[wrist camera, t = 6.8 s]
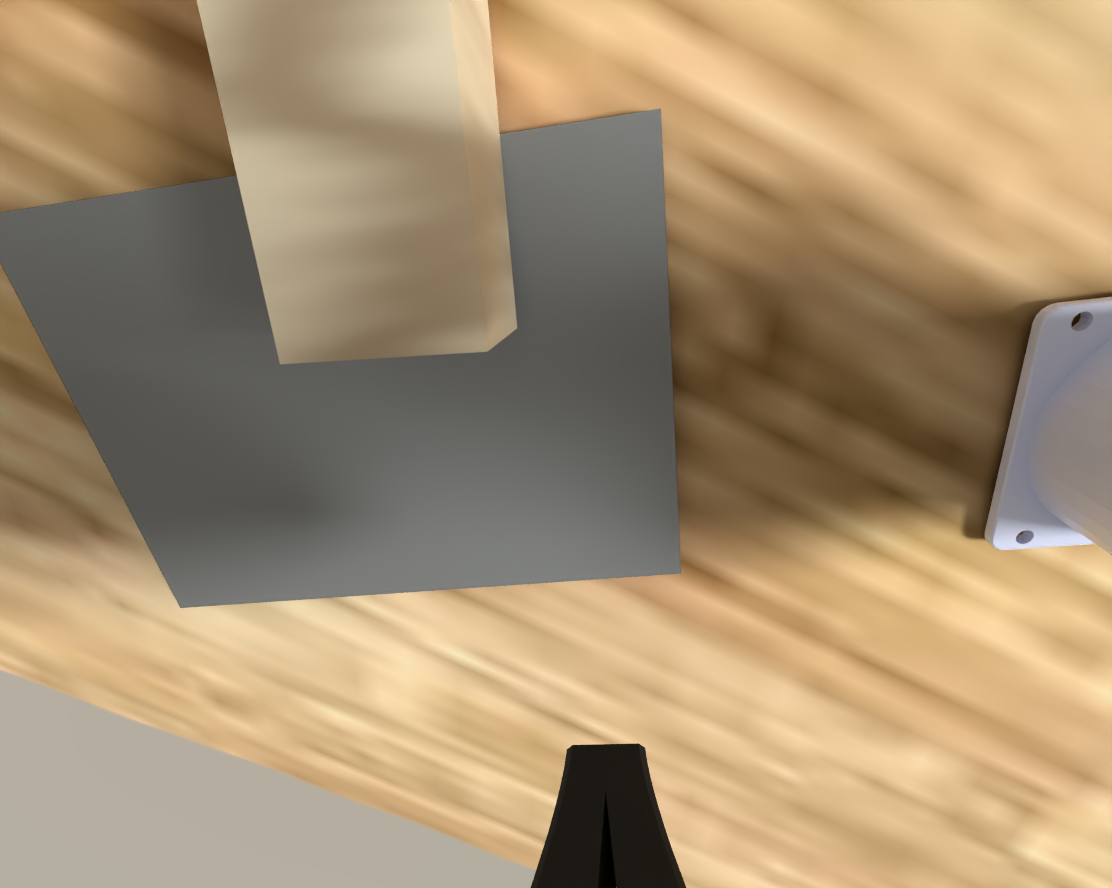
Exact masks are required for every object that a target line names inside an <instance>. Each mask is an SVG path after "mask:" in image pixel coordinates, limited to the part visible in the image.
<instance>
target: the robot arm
mask: <svg viewBox="0 0 1112 888" xmlns="http://www.w3.org/2000/svg"><path fill="white" fill-rule="evenodd" d="M1079 313H1081V318H1080V320H1079V321H1078V323H1077V324H1075V325H1074V326H1073V327H1071V322H1072V320H1073V318H1074V317H1075V316H1076V315H1078V314H1079ZM1022 531H1024V532H1023V533H1022V534H1021V535H1019V536H1017V535H1018V534H1019V533H1020V532H1022ZM985 539H986V541H987V542H988V543H989V544H990V545H991V546H992V547H994V548H996V549H998V550H1014V549H1028V548H1043V547H1057V546H1072V545H1086V544H1096V545H1098V546H1099V547H1101V548H1102V549H1104V550H1105V551H1106V552H1108V553H1109V554H1111V555H1112V297H1104V298H1095V299H1086V300H1077V301H1068V302H1059V303H1054V304H1050V305H1048V306H1046V307H1045V308H1043V309H1042V310H1041V311H1040V312H1039V313H1038V314H1037V315H1036V316H1035V319H1034V321H1033V324H1032V328H1031V332H1030V337H1029V341H1028V345H1027V350H1026V354H1025V359H1024V363H1023V367H1022V372H1021V376H1020V380H1019V385H1018V389H1017V394H1016V398H1015V402H1014V407H1013V411H1012V415H1011V420H1010V424H1009V429H1008V433H1007V437H1006V442H1005V446H1004V450H1003V455H1002V459H1001V464H1000V468H999V472H998V477H997V481H996V485H995V490H994V494H993V499H992V503H991V507H990V512H989V516H988V520H987V525H986V529H985ZM616 887H617V888H686V886H685V883H684V881H683V878H682V875H681V872H680V870H679V867H678V864H677V862H676V859H675V856H674V854H673V851H672V848H671V845H670V842H669V839H668V836H667V833H666V830H665V827H664V824H663V821H662V817H661V814H660V811H659V808H658V804H657V801H656V797H655V793H654V790H653V786H652V782H651V778H650V773H649V768H648V764H647V758H646V751H645V748H644V747H643V746H641V745H640V744H603V745H572V746H571V747H570V748H569V749H567V754H566V761H565V767H564V772H563V777H562V781H561V786H560V790H559V795H558V799H557V803H556V806H555V810H554V814H553V817H552V821H551V825H550V828H549V832H548V835H547V838H546V841H545V845H544V848H543V851H542V854H541V857H540V861H539V864H538V867H537V870H536V873H535V876H534V880H533V882H532V886H531V888H616Z"/></svg>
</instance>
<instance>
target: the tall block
mask: <svg viewBox="0 0 1112 888" xmlns="http://www.w3.org/2000/svg"><path fill="white" fill-rule="evenodd" d="M197 4H198V9H199V13H200V17H201V22H202V26H203V30H204V35H205V39H206V43H207V48H208V52H209V57H210V61H211V65H212V70H213V74H214V78H215V83H216V87H217V91H218V96H219V100H220V105H221V109H222V113H223V118H224V122H225V126H226V131H227V135H228V139H229V144H230V148H231V153H232V157H233V161H234V166H235V170H236V174H237V179H238V183H239V187H240V192H241V196H242V201H243V205H244V209H245V214H246V218H247V222H248V227H249V231H250V235H251V240H252V244H253V249H254V253H255V257H256V262H257V266H258V270H259V275H260V279H261V283H262V288H263V292H264V297H265V301H266V305H267V310H268V314H269V318H270V323H271V327H272V331H273V336H274V340H275V345H276V349H277V353H278V358H279V362H280V364H294V363H311V362H327V361H343V360H360V359H376V358H392V357H408V356H425V355H441V354H457V353H474V352H488V351H489V350H490V349H491V348H493V347H494V346H495V345H497V344H498V343H499V342H500V341H502V340H503V339H504V338H505V337H507V336H508V335H509V334H510V333H512V332H513V331H514V330H516V329H517V319H516V308H515V297H514V286H513V275H512V264H511V253H510V242H509V231H508V220H507V209H506V198H505V187H504V176H503V165H502V154H501V143H500V132H499V121H498V110H497V99H496V88H495V77H494V66H493V55H492V44H491V33H490V22H489V11H488V0H197Z"/></svg>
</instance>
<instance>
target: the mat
mask: <svg viewBox="0 0 1112 888" xmlns="http://www.w3.org/2000/svg"><path fill="white" fill-rule="evenodd" d="M500 143H501V154H502V165H503V176H504V187H505V198H506V209H507V220H508V231H509V242H510V253H511V264H512V275H513V286H514V297H515V308H516V319H517V329H516V330H514V331H513V332H512V333H510V334H509V335H508V336H507V337H505V338H504V339H503V340H502V341H500V342H499V343H498V344H497V345H495V346H494V347H493V348H491V349H490V350H489V351H488V352H474V353H457V354H441V355H425V356H408V357H392V358H376V359H360V360H343V361H327V362H311V363H294V364H280V362H279V358H278V353H277V349H276V345H275V340H274V336H273V331H272V327H271V323H270V318H269V314H268V310H267V305H266V301H265V297H264V292H263V288H262V283H261V279H260V275H259V270H258V266H257V262H256V257H255V253H254V249H253V244H252V240H251V235H250V231H249V227H248V222H247V218H246V214H245V209H244V205H243V201H242V196H241V192H240V187H239V183H238V179H237V175H236V176H230V177H223V178H217V179H211V180H204V181H198V182H192V183H185V184H179V185H173V186H166V187H160V188H153V189H147V190H141V191H134V192H128V193H122V194H115V195H109V196H103V197H96V198H90V199H83V200H77V201H71V202H64V203H58V204H52V205H45V206H39V207H33V208H26V209H20V210H14V211H7V212H1V213H0V263H1V265H2V267H3V269H4V271H5V273H6V275H7V277H8V279H9V280H10V282H11V284H12V286H13V288H14V290H15V292H16V294H17V296H18V298H19V300H20V301H21V303H22V305H23V307H24V309H25V311H26V313H27V315H28V317H29V319H30V321H31V323H32V324H33V326H34V328H35V330H36V332H37V334H38V336H39V338H40V340H41V342H42V344H43V346H44V347H45V349H46V351H47V353H48V355H49V357H50V359H51V361H52V363H53V365H54V367H55V369H56V370H57V372H58V374H59V376H60V378H61V380H62V382H63V384H64V386H65V388H66V390H67V392H68V393H69V395H70V397H71V399H72V401H73V403H74V405H75V407H76V409H77V411H78V413H79V415H80V416H81V418H82V420H83V422H84V424H85V426H86V428H87V430H88V432H89V434H90V436H91V438H92V439H93V441H94V443H95V445H96V447H97V449H98V451H99V453H100V455H101V457H102V459H103V461H104V462H105V464H106V466H107V468H108V470H109V472H110V474H111V476H112V478H113V480H114V482H115V484H116V485H117V487H118V489H119V491H120V493H121V495H122V497H123V499H124V501H125V503H126V505H127V506H128V508H129V510H130V512H131V514H132V516H133V518H134V520H135V522H136V524H137V526H138V528H139V529H140V531H141V533H142V535H143V537H144V539H145V541H146V543H147V545H148V547H149V549H150V551H151V552H152V554H153V556H154V558H155V560H156V562H157V564H158V566H159V568H160V570H161V572H162V574H163V575H164V577H165V579H166V581H167V583H168V585H169V587H170V589H171V591H172V593H173V595H174V597H175V598H176V600H177V602H178V604H179V606H180V608H187V607H201V606H216V605H230V604H245V603H259V602H274V601H288V600H303V599H317V598H332V597H346V596H361V595H375V594H390V593H404V592H419V591H433V590H448V589H462V588H477V587H491V586H506V585H520V584H535V583H549V582H564V581H578V580H593V579H607V578H622V577H636V576H651V575H665V574H680V573H681V563H680V540H679V517H678V494H677V471H676V448H675V425H674V402H673V379H672V356H671V333H670V310H669V286H668V263H667V240H666V217H665V194H664V171H663V148H662V125H661V109H656V110H650V111H643V112H637V113H630V114H624V115H618V116H611V117H605V118H599V119H592V120H586V121H580V122H573V123H567V124H561V125H554V126H548V127H541V128H535V129H529V130H522V131H516V132H510V133H503V134H500Z"/></svg>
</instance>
